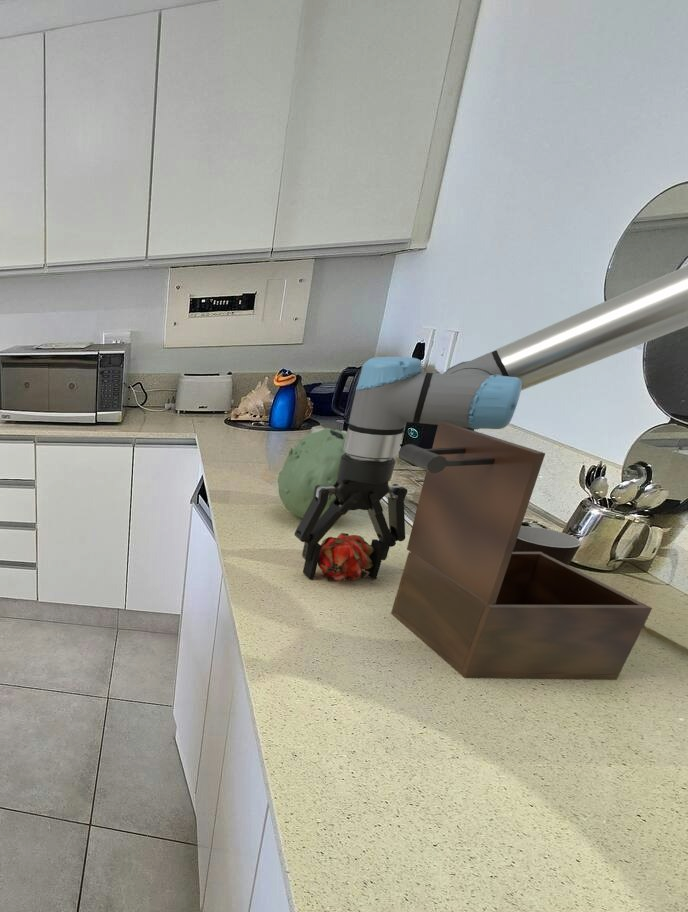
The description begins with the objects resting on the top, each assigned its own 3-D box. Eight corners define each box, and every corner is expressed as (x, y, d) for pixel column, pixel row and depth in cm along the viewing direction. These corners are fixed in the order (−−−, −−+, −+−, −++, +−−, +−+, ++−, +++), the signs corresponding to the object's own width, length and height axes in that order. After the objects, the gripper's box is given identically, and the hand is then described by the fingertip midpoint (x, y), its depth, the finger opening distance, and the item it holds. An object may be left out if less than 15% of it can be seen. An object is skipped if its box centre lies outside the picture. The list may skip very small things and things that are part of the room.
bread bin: (516, 613, 90) (540, 551, 86) (616, 679, 75) (652, 608, 71) (390, 613, 92) (408, 552, 88) (464, 677, 77) (490, 607, 72)
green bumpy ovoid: (273, 528, 125) (289, 437, 117) (270, 500, 140) (284, 418, 132) (358, 537, 118) (381, 442, 111) (344, 507, 134) (364, 421, 126)
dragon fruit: (351, 572, 108) (331, 604, 101) (315, 540, 110) (292, 569, 103) (391, 548, 102) (372, 581, 95) (351, 514, 104) (330, 544, 97)
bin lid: (445, 421, 80) (379, 425, 80) (545, 453, 64) (463, 457, 65) (412, 549, 87) (352, 551, 88) (495, 604, 72) (422, 605, 73)
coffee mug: (570, 597, 94) (593, 541, 90) (538, 608, 91) (561, 551, 87) (488, 568, 104) (506, 517, 100) (457, 578, 101) (475, 526, 97)
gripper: (426, 448, 97) (392, 566, 106) (287, 450, 99) (266, 566, 108) (457, 460, 90) (418, 585, 99) (307, 463, 92) (282, 585, 101)
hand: (339, 575), depth 104 cm, fingers open, 10 cm apart
